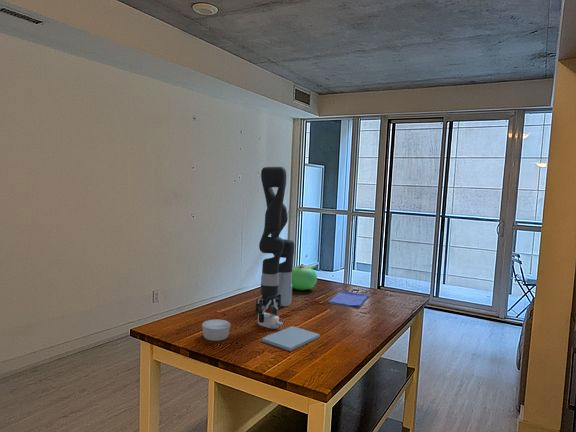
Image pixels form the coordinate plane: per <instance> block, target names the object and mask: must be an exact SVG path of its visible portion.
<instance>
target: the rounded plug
mask: <svg viewBox="0 0 576 432" xmlns="http://www.w3.org/2000/svg"><path fill="white" fill-rule="evenodd" d="M257 325H259V326H261V327H265V328H267V329H271V330H276V329H279V327H282V326H284V322H282V321H280V316H278V315H277V316H276V315H273V314H272V313H269V312H266V311H265V312H264V322H263V323H261V322H259V313H257Z"/></svg>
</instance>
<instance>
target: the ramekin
mask: <svg viewBox="0 0 576 432" xmlns="http://www.w3.org/2000/svg"><path fill="white" fill-rule="evenodd" d="M201 327H202V335H203V337H204V339H206V340H208V341H210V342H211V341H212V342H218V341H224V340H226V339H227V338H228V337H229V334H230V328H231V322H230V321H227V320H224V319H218V318H216V319H208V320H205V321H204V322H202V324H201Z"/></svg>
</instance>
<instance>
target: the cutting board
mask: <svg viewBox="0 0 576 432" xmlns="http://www.w3.org/2000/svg"><path fill="white" fill-rule="evenodd" d="M320 336H321V334H319V333H316V332H313V331H310V330H307V329H302V328H300V327H296V326H293V325H291V326H289V327H286V328H284V329H281V330H279V331H277V332H274V333H272V334H268V335H266V336H264V337H262V338H261V342H263V343H265V344H269V345H272V346H274V347H277V348H280V349H283V350H286V351H289V352H292V351H293V350H296V349H298V348H300V347H302V346H304V345H307V344H309V343H310V342H313V341H314V340H315V341H316V340H318V339H319V338H320Z"/></svg>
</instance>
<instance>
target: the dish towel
mask: <svg viewBox="0 0 576 432" xmlns="http://www.w3.org/2000/svg"><path fill="white" fill-rule="evenodd" d="M368 299H369V294H368V293H356V292H350V291H344V290H343V291H339V292H338V293H337V294H336V295H335V296H333V297H332V298H331V299H330V300H328V303H329V304H330V305H335V306H343V307H349V308H356V309H360V308H361V307H362V306H363V305H364V304H365V303H366V302H367V301H368Z"/></svg>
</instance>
